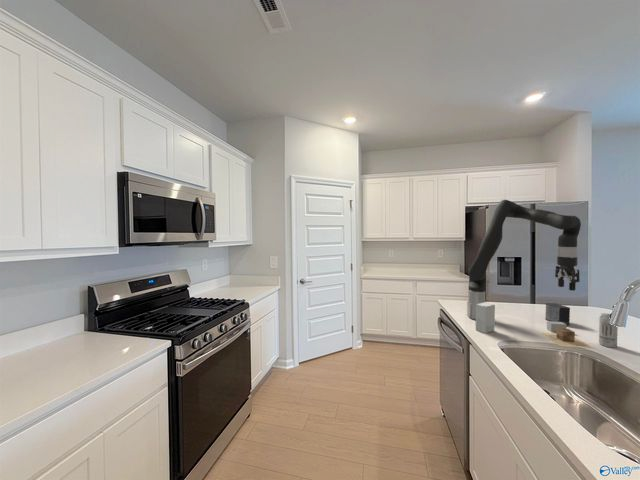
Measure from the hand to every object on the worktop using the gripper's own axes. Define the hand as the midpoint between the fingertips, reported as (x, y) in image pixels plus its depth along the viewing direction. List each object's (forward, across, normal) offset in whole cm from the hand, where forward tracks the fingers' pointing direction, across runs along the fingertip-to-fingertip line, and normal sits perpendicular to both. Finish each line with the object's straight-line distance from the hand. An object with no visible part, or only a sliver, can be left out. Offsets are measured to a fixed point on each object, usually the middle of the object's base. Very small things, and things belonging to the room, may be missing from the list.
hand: (566, 288), depth 138 cm
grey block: (+26, -13, +3) cm, 29 cm away
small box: (+26, -31, +13) cm, 43 cm away
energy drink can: (+26, +4, +15) cm, 31 cm away
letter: (+26, 0, 0) cm, 26 cm away
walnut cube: (+26, 0, 0) cm, 26 cm away
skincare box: (+26, -7, -34) cm, 44 cm away
